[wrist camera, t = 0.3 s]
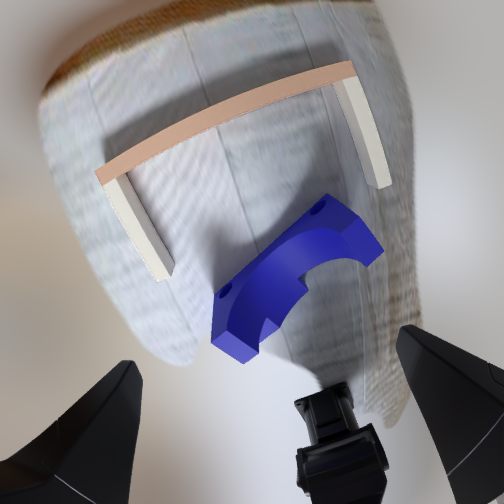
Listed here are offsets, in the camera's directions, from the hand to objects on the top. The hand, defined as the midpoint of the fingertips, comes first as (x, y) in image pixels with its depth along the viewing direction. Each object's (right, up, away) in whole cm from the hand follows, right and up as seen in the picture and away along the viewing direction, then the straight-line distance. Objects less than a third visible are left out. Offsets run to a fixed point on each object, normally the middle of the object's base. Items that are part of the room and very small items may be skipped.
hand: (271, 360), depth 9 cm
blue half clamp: (+2, +3, +14) cm, 15 cm away
